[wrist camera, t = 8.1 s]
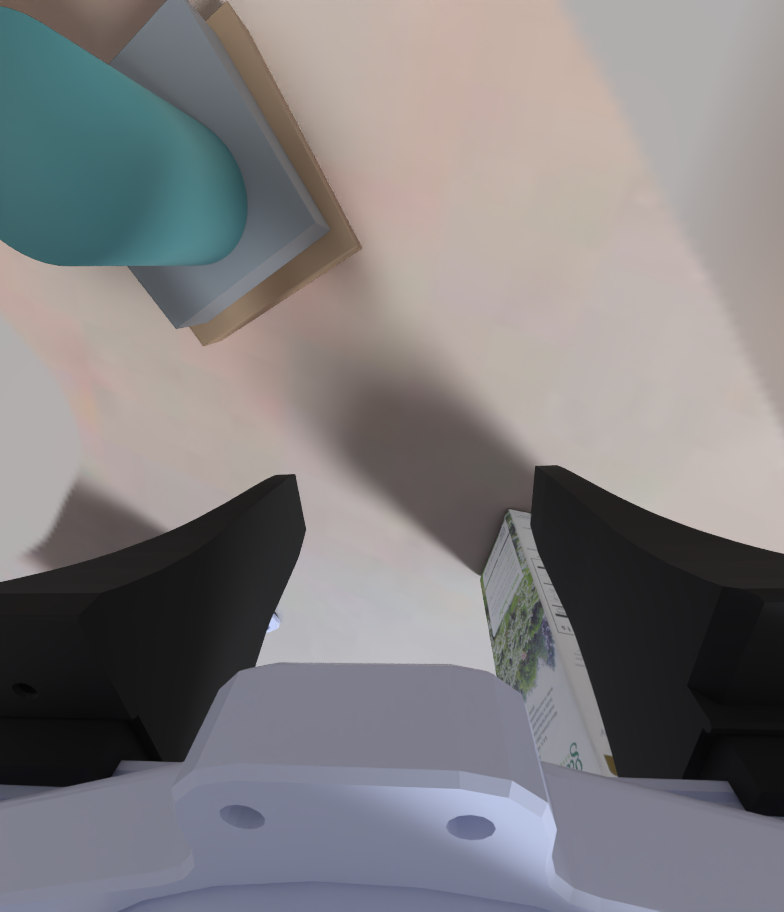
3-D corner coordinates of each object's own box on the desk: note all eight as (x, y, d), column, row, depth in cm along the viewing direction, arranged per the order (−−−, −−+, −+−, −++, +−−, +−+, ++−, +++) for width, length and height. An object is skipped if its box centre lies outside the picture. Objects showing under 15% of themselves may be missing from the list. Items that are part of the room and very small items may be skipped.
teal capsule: (185, 289, 15) (51, 303, 10) (96, 171, 14) (-120, 109, 8) (272, 219, 14) (175, 190, 8) (185, 80, 12) (-1, -64, 7)
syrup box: (562, 595, 26) (711, 931, 13) (474, 577, 26) (533, 898, 12) (599, 525, 23) (832, 849, 10) (503, 504, 23) (612, 807, 10)
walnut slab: (227, 338, 21) (203, 346, 18) (109, 169, 18) (64, 154, 16) (363, 249, 19) (355, 245, 16) (255, 40, 16) (226, 0, 13)
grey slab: (207, 322, 18) (176, 328, 16) (90, 164, 16) (34, 146, 13) (330, 229, 16) (315, 222, 14) (217, 36, 14) (177, -12, 12)
